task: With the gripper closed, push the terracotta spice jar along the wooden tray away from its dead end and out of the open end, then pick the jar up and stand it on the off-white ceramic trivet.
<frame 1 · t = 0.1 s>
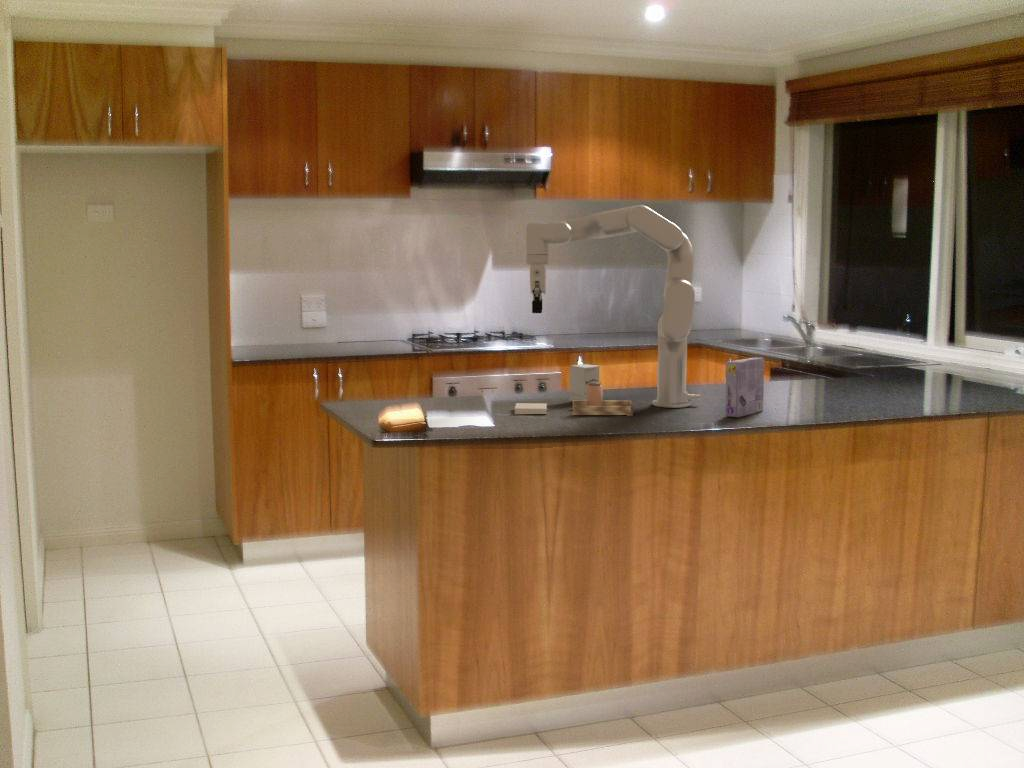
hand: (537, 311, 364), 31 cm above the countertop, tool pointing down, fingers open, 9 cm apart
trivet: (531, 412, 354), on the countertop
supplement box: (584, 402, 373), on the countertop
wooden tray: (602, 412, 353), on the countertop
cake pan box: (744, 414, 351), on the countertop
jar: (594, 412, 353), resting in wooden tray
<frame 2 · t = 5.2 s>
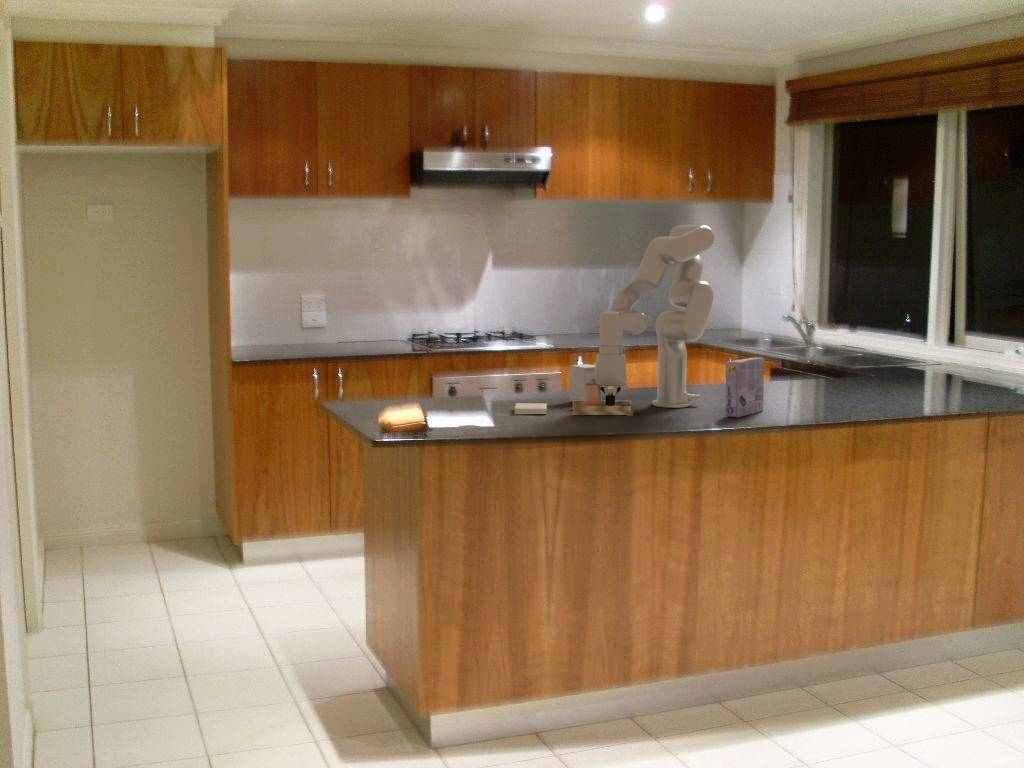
hand: (610, 407, 352), 2 cm above the countertop, tool pointing down, fingers closed
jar: (594, 411, 353), resting in wooden tray, tilted 6°
everything else where it was.
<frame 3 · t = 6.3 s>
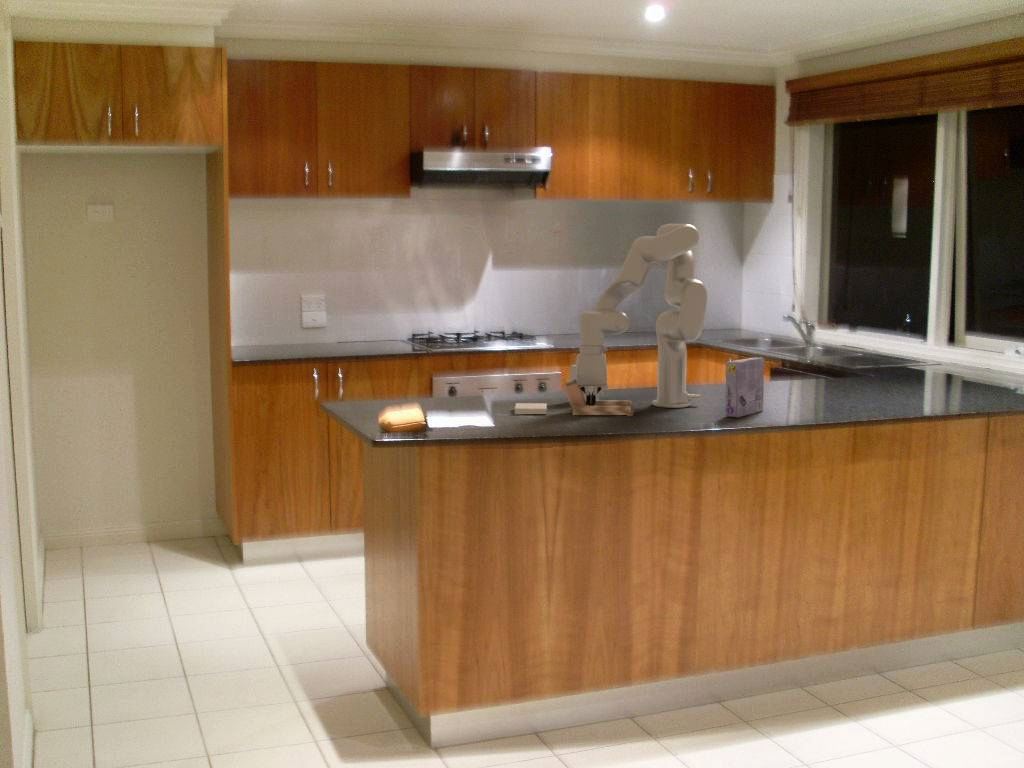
hand: (590, 406, 352), 2 cm above the countertop, tool pointing down, fingers closed
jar: (580, 409, 353), point 1 cm above the countertop, tilted 19°, touching gripper
everything else where it was.
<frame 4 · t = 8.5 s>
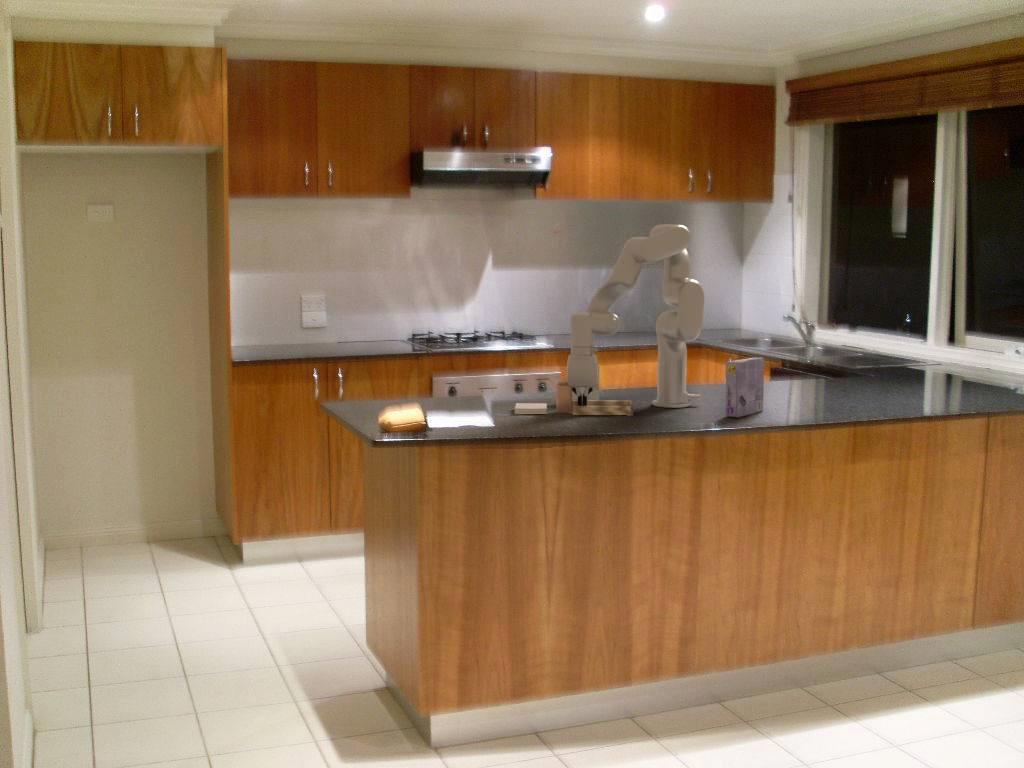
hand: (582, 407, 353), 1 cm above the countertop, tool pointing down, fingers closed
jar: (564, 412, 353), on the countertop, touching gripper
everything else where it was.
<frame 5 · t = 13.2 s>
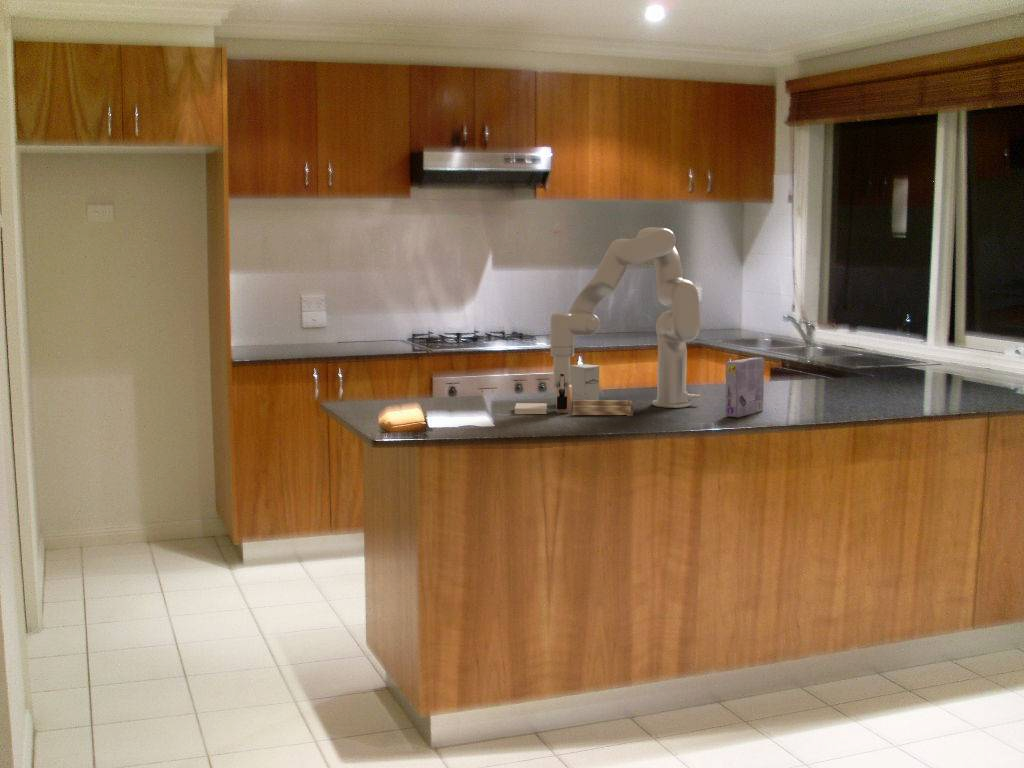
hand: (562, 406, 353), 2 cm above the countertop, tool pointing down, fingers closed on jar, 5 cm apart
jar: (564, 412, 353), on the countertop, touching gripper
everything else where it was.
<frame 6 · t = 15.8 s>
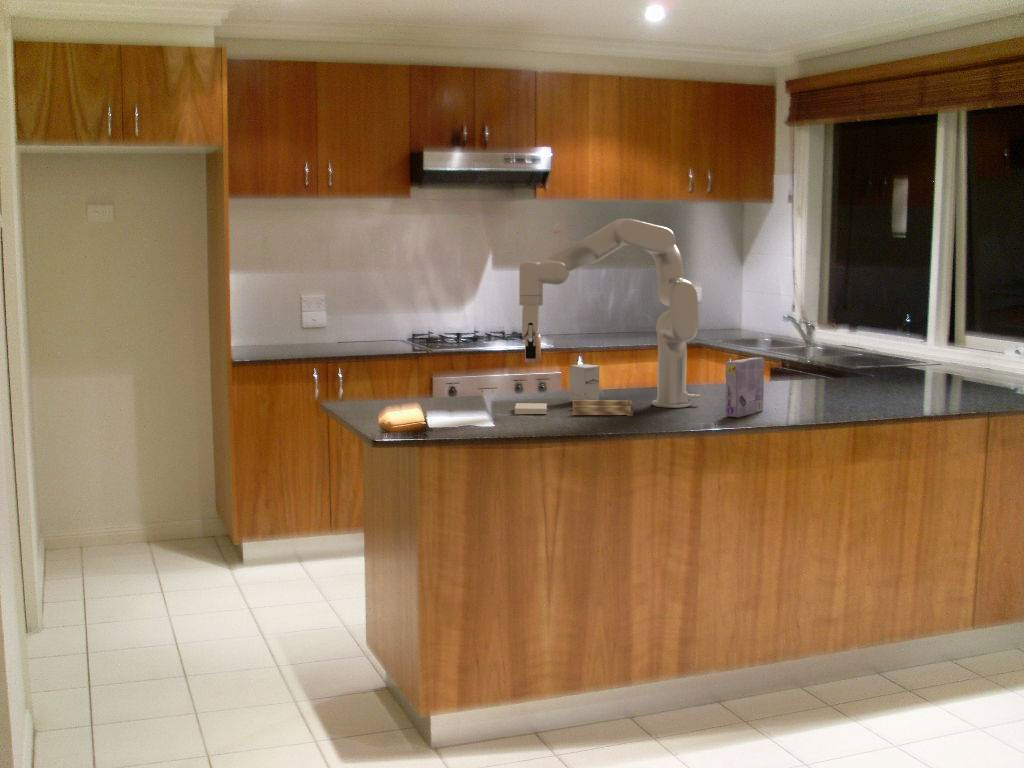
hand: (530, 356, 351), 18 cm above the countertop, tool pointing down, fingers closed on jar, 5 cm apart
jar: (532, 362, 351), point 16 cm above the countertop, touching gripper
everything else where it was.
when the fingers open (5 cm above the countertop, at t = 18.4 s): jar drops 1 cm, resting on trivet.
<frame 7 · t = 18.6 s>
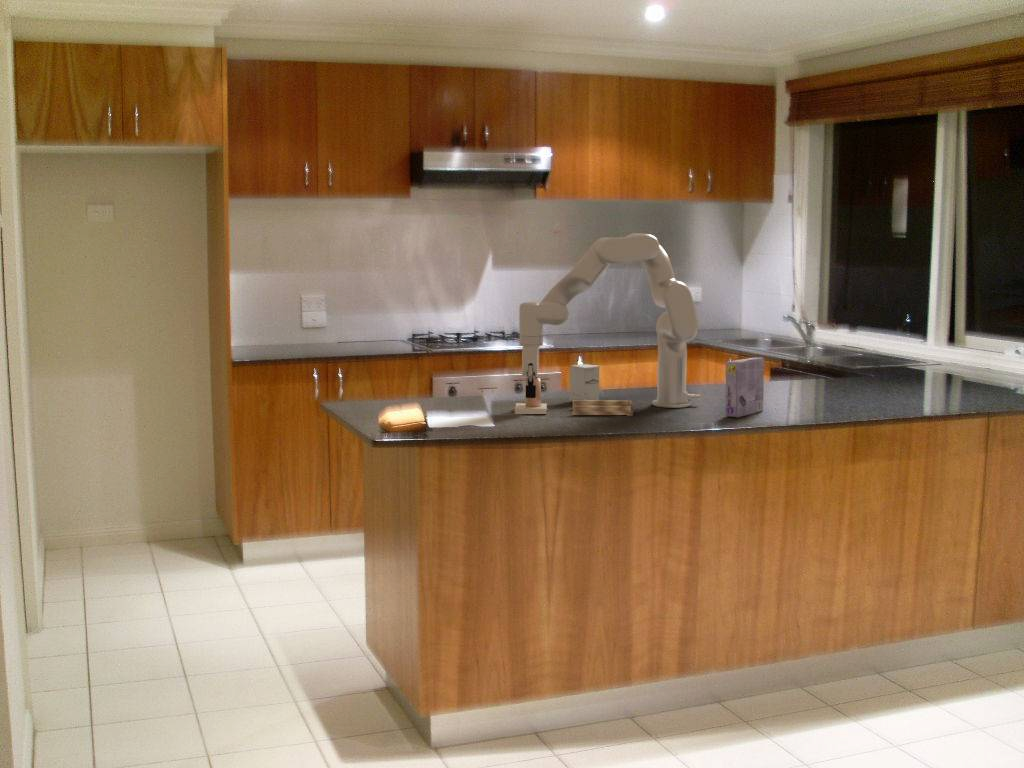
hand: (531, 395, 353), 5 cm above the countertop, tool pointing down, fingers open, 7 cm apart
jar: (533, 405, 353), point 2 cm above the countertop, touching trivet
everything else where it was.
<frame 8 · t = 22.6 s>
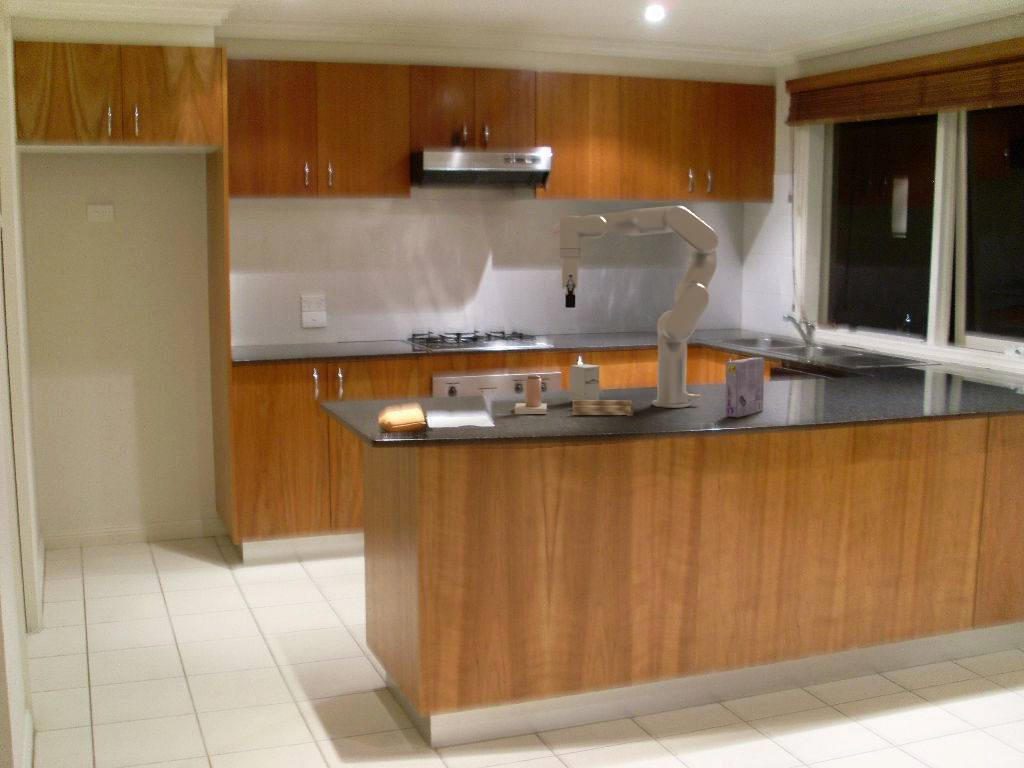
hand: (570, 306, 359), 33 cm above the countertop, tool pointing down, fingers open, 9 cm apart
nothing on the countertop moved.
at the end: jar inside the target area on the trivet (0.7 cm from its centre), point 2.0 cm above the trivet's base; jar tilted 1°; the gripper is holding nothing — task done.
